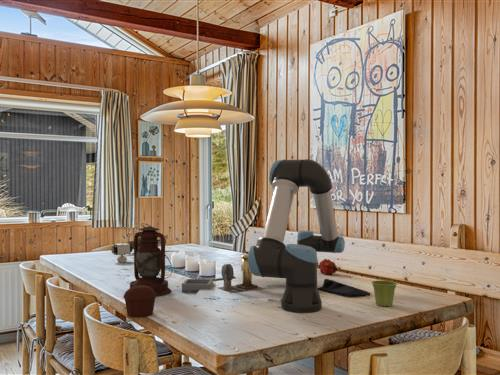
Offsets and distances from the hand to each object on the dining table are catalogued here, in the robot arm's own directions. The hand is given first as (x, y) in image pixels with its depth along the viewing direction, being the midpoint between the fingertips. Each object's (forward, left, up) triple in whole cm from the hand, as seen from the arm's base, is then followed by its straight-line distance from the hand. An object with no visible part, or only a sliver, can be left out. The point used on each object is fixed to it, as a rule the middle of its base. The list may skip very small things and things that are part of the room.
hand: (249, 270), depth 215 cm
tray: (+1, +23, -9) cm, 25 cm away
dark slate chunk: (-1, -41, -10) cm, 42 cm away
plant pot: (-24, -53, -9) cm, 59 cm away
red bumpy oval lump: (+42, -39, -9) cm, 58 cm away
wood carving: (+123, +78, -9) cm, 146 cm away
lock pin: (-1, +1, -7) cm, 8 cm away
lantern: (-6, +43, -9) cm, 44 cm away
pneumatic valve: (+78, +81, -9) cm, 113 cm away
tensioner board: (-3, +3, -9) cm, 10 cm away
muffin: (-42, +37, -9) cm, 57 cm away
